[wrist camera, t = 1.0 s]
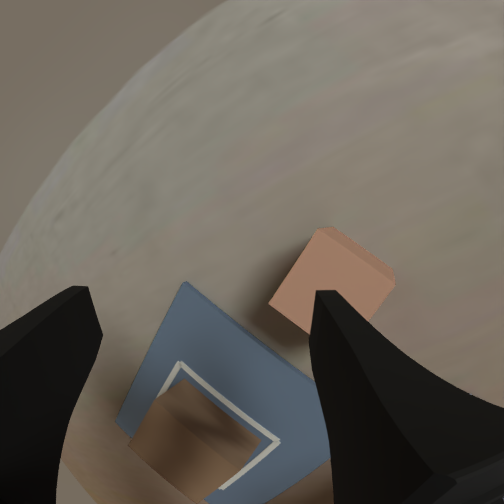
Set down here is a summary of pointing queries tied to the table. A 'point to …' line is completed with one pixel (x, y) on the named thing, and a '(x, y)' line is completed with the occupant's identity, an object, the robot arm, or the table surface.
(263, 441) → the blueprint board
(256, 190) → the table surface
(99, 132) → the table surface
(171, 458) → the walnut base block
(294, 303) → the terracotta block
